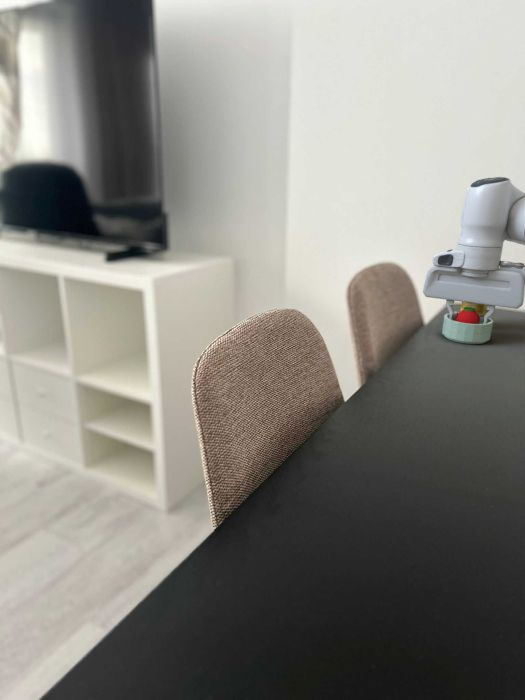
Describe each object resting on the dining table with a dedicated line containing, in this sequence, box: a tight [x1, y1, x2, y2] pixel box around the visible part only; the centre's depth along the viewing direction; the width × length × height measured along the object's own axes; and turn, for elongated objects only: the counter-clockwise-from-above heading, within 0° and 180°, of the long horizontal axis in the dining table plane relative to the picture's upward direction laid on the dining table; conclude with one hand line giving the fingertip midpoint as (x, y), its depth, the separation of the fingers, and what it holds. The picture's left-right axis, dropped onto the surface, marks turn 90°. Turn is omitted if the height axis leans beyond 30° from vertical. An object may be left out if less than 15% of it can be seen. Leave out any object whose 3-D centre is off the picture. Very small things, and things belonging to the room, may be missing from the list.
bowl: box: [441, 311, 494, 345], centre depth 113 cm, size 10×10×4 cm
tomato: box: [456, 307, 480, 324], centre depth 112 cm, size 5×5×5 cm
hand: (467, 322), depth 112 cm, fingers closed on tomato, 5 cm apart
